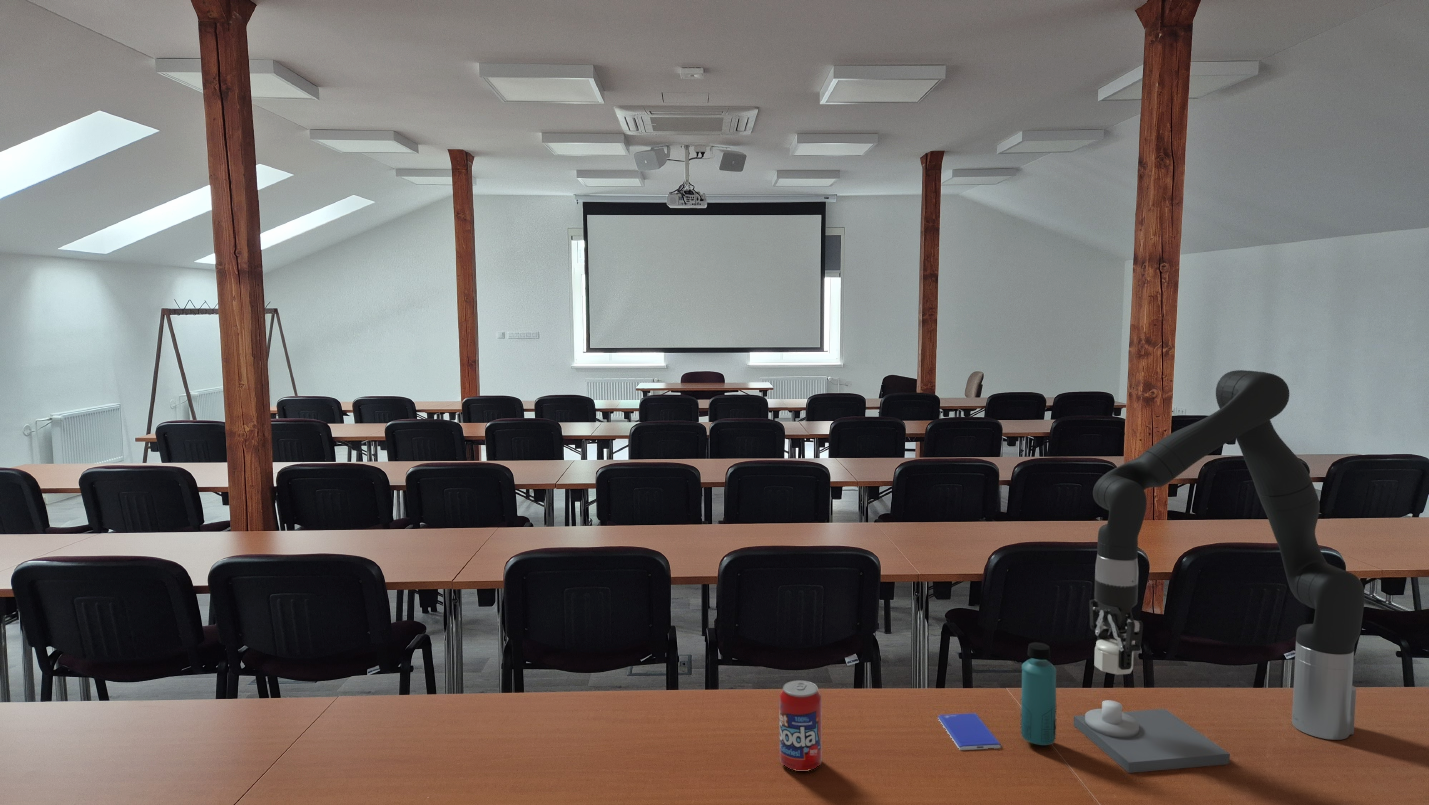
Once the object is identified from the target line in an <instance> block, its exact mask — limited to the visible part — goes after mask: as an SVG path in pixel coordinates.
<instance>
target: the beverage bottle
mask: <svg viewBox="0 0 1429 805" xmlns="http://www.w3.org/2000/svg"><path fill="white" fill-rule="evenodd" d="M1027 656H1028V657H1029V659H1026V661H1024V662H1023V663H1022V664H1021V693H1020V694H1021V695H1020V696H1021V697H1020V725H1019V726H1020V734H1021V736H1022V738H1023V739H1024V740H1025V741H1026V742H1028V743H1031V744H1032V745H1033V744H1034V745H1038V746H1047V745H1048V746H1049V745H1052V744H1053V743H1055V741H1056V739H1057V737H1056V736H1057V728H1058V727H1057V724H1058V723H1057V714H1058V713H1057V709H1058V708H1057V706H1058V705H1057V668H1056V667H1055V666H1054V665H1053V664H1052V663H1051V662H1050V661H1048V660H1050V659H1051V647H1050V646H1049V645H1048V644H1046V643H1043V642H1030V643H1029V644H1028V648H1027Z"/></svg>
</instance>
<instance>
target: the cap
mask: <svg viewBox="0 0 1429 805" xmlns="http://www.w3.org/2000/svg"><path fill="white" fill-rule="evenodd" d="M1123 642H1124V644H1125V641H1123ZM1095 643H1096V644H1095V647H1094V657H1093V658H1094V664H1093V666H1094V667H1096V668H1097V669H1098V670H1100V671H1101V672H1104V673H1109V674H1113V675H1117V676H1118V675H1128V674H1129V675H1130V674H1131V673H1132V671H1133V669H1134V654H1135V653H1134V652H1135V651H1133V652H1132V665H1131V668H1130V669H1126V670H1122V669H1120V668H1119V667H1118V665H1119V650H1120V649H1119V645H1118V641H1117V639H1115V638H1110V639H1101V640H1098V641H1097V640H1096V642H1095Z"/></svg>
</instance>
